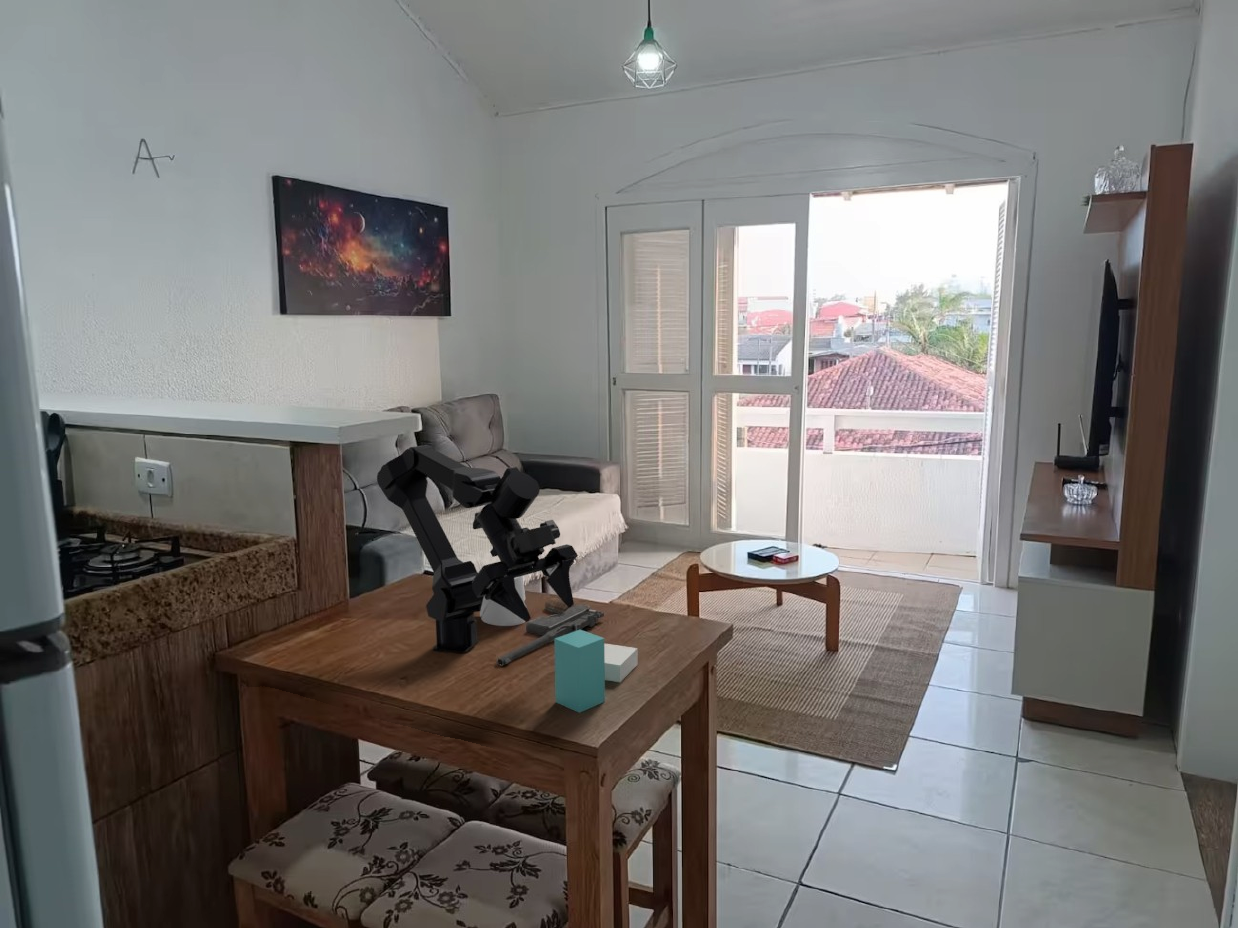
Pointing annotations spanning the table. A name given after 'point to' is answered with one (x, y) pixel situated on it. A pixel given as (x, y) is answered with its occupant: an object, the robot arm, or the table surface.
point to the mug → (502, 609)
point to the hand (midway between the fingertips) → (550, 613)
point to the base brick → (619, 661)
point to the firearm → (554, 626)
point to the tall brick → (579, 670)
